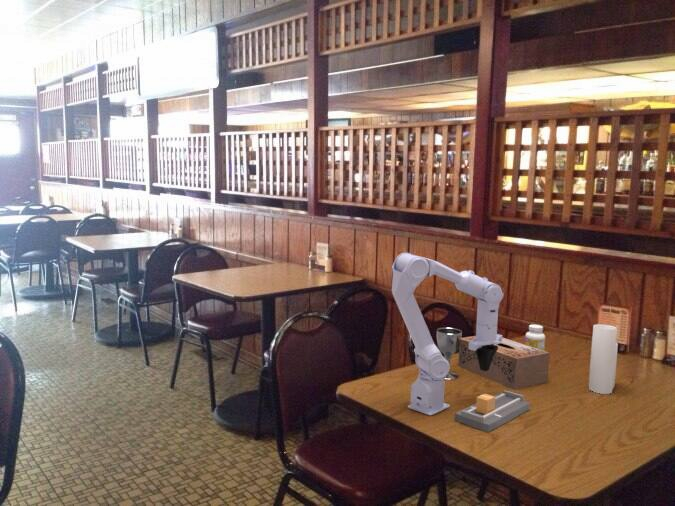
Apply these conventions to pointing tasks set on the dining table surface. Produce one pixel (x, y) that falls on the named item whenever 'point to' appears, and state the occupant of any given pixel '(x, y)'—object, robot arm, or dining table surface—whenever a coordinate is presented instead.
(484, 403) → the fader tab
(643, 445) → the dining table surface
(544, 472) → the dining table surface
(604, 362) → the candle
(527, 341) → the supplement bottle
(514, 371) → the tissue box cover
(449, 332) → the wine glass
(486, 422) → the grey flat railed block
